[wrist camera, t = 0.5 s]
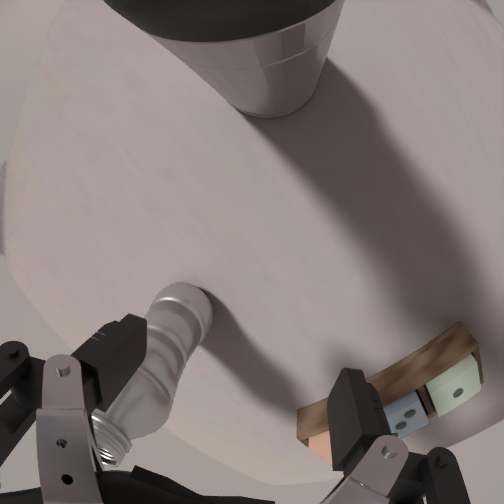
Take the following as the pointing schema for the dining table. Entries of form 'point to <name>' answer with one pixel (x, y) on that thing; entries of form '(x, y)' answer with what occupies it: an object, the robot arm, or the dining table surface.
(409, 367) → the dice tray set
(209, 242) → the dining table surface
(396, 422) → the button three
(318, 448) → the button two
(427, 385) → the button one
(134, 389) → the plastic bottle
